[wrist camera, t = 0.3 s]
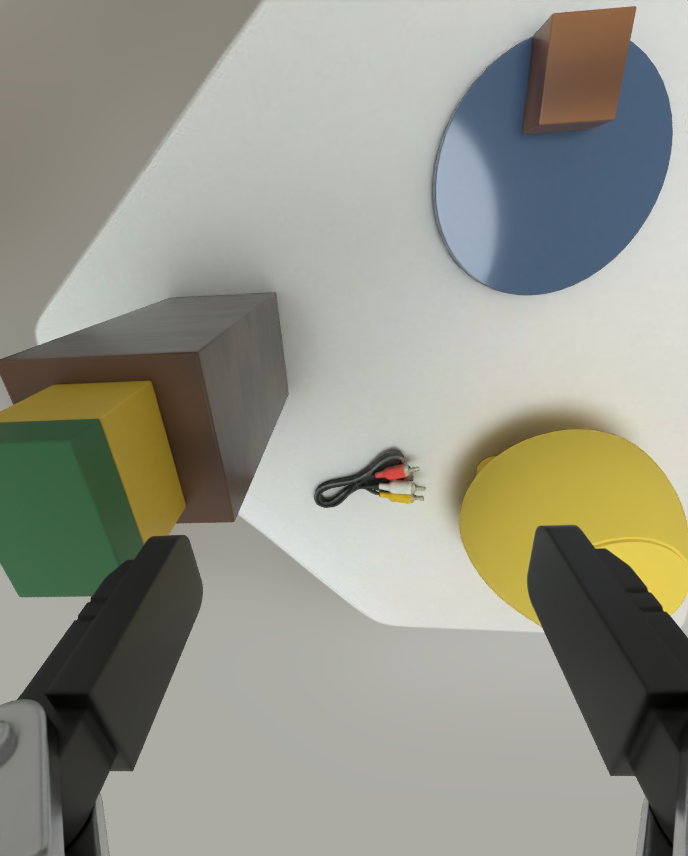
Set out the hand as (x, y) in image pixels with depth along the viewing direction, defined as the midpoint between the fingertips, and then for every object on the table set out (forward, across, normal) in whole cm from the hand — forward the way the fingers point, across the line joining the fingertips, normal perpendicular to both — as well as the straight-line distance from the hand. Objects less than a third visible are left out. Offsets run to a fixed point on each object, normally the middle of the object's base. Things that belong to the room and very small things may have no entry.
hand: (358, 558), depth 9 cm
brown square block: (+22, -12, -13) cm, 29 cm away
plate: (+23, -12, -9) cm, 28 cm away
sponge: (+7, +10, +1) cm, 12 cm away
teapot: (+24, -16, +17) cm, 33 cm away
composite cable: (+24, 0, +13) cm, 27 cm away
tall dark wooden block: (+23, +10, +1) cm, 25 cm away
